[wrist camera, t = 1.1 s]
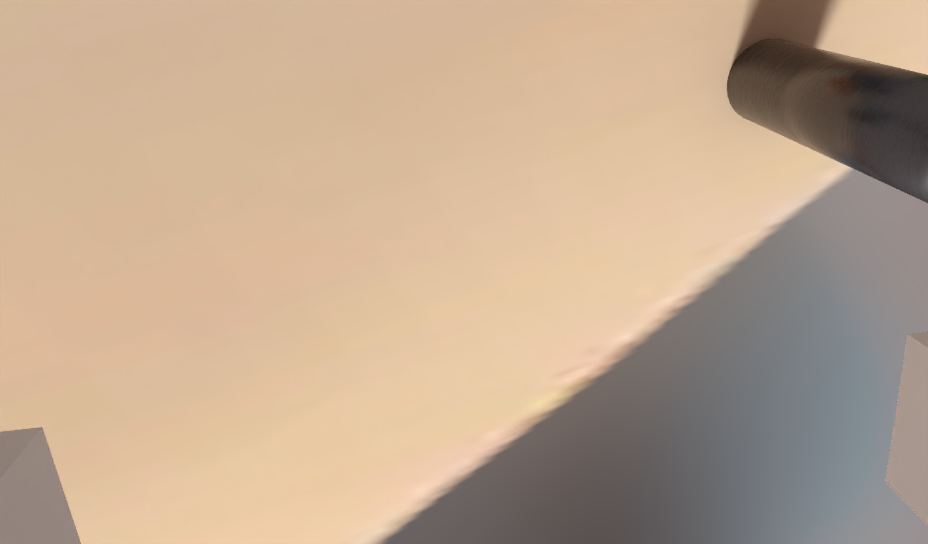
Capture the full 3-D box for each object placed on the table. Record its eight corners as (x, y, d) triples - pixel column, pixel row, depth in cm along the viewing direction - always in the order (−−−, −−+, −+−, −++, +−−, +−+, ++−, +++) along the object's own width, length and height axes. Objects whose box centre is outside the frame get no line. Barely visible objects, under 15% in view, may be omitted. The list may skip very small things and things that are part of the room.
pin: (713, 107, 37) (897, 194, 24) (750, 27, 36) (965, 76, 23) (780, 131, 38) (990, 226, 25) (818, 54, 37) (1061, 115, 24)
